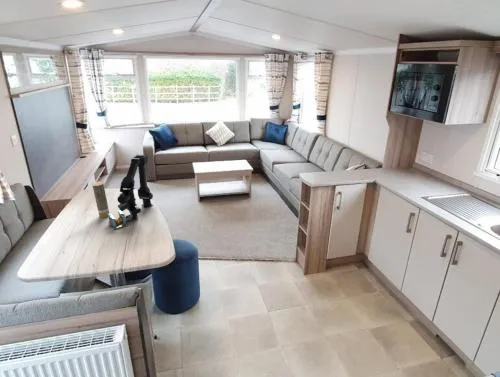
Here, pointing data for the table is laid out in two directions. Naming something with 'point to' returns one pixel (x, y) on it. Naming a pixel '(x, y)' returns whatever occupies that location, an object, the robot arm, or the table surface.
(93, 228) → the table surface
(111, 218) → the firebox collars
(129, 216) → the tube
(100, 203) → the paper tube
